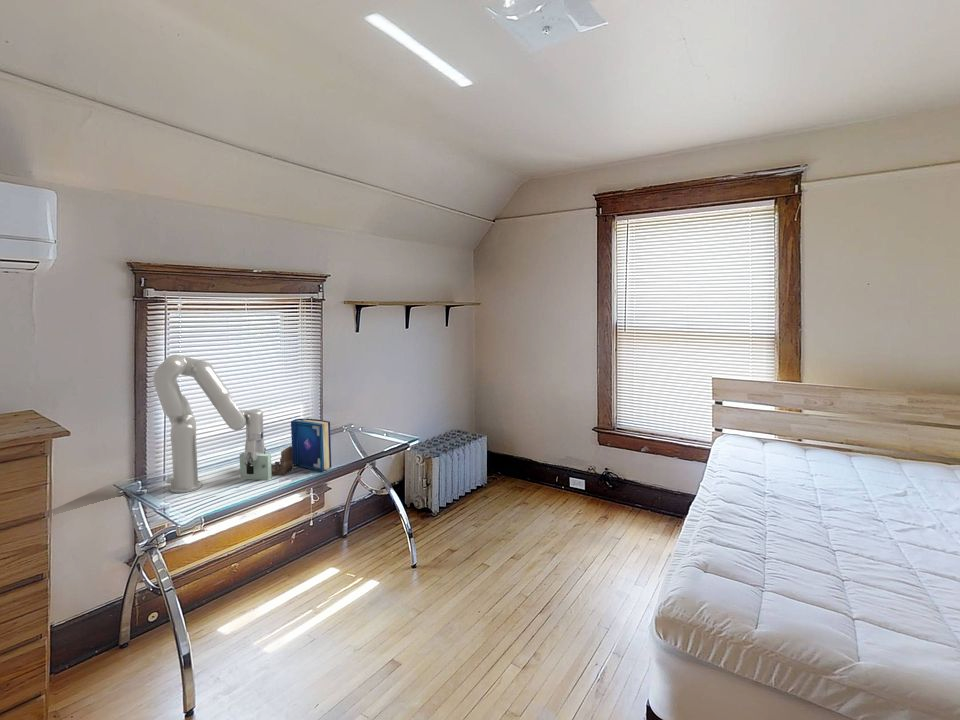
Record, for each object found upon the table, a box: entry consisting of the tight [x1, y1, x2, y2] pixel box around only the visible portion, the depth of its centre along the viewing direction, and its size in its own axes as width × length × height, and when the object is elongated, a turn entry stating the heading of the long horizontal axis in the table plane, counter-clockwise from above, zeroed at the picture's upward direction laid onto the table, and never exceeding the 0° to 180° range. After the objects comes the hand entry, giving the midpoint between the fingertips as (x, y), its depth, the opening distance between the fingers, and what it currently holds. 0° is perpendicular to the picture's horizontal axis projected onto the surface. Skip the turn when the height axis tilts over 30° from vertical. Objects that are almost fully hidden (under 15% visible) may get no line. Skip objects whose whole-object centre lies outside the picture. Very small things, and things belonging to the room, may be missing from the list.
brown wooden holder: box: [271, 445, 294, 476], centre depth 242 cm, size 19×9×12 cm, turn 86°
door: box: [239, 452, 273, 481], centre depth 232 cm, size 14×4×12 cm, turn 86°
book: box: [290, 418, 332, 472], centre depth 249 cm, size 22×7×25 cm, turn 67°
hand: (255, 470), depth 233 cm, fingers open, 9 cm apart
